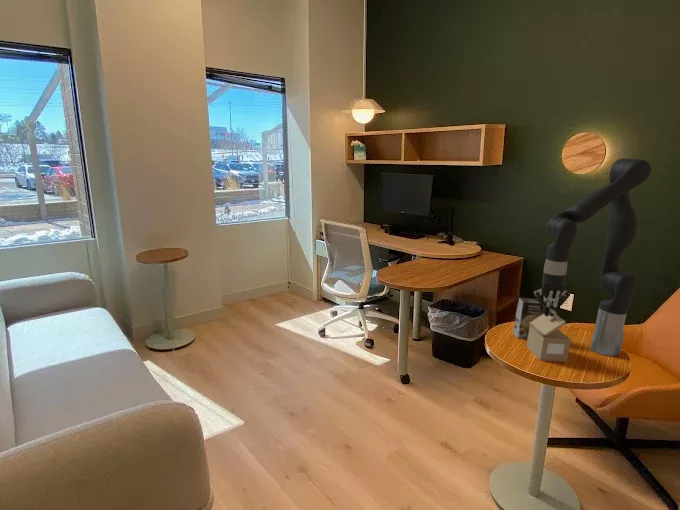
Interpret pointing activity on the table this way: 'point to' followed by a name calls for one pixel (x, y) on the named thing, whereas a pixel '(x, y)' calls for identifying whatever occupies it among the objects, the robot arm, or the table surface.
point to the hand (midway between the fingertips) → (548, 315)
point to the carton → (549, 345)
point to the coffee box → (526, 316)
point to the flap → (547, 323)
